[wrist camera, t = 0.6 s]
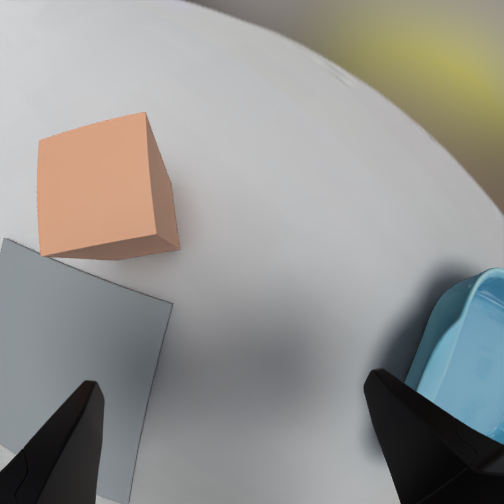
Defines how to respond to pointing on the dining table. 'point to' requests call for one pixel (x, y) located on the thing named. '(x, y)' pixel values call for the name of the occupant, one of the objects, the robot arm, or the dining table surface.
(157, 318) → the mat
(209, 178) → the dining table surface
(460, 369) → the casserole dish
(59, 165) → the block
